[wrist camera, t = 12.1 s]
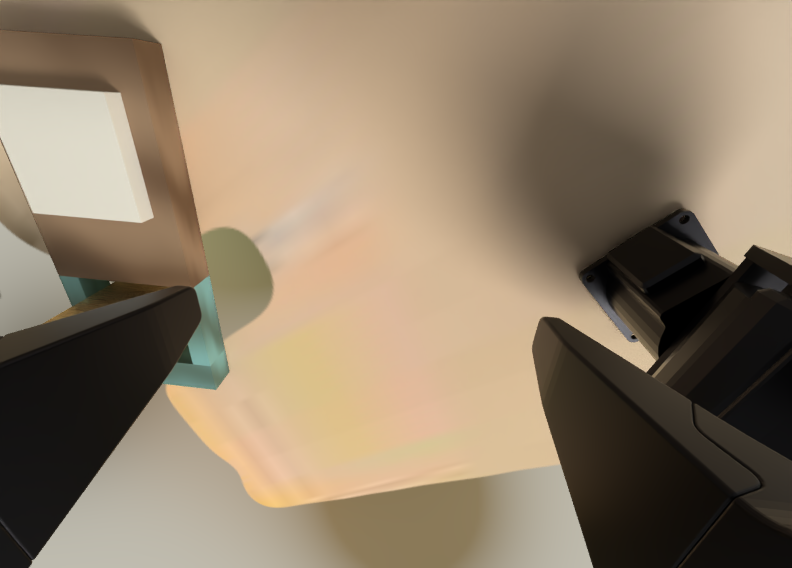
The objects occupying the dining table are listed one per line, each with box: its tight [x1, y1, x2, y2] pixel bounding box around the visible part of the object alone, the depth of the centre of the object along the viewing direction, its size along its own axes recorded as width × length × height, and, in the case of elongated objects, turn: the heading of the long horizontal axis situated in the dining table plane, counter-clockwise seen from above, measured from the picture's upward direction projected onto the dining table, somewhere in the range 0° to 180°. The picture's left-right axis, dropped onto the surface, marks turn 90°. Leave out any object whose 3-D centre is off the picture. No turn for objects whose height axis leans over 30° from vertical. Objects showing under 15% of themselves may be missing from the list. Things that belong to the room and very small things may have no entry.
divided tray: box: [0, 30, 229, 390], centre depth 22 cm, size 22×9×3 cm, turn 177°
